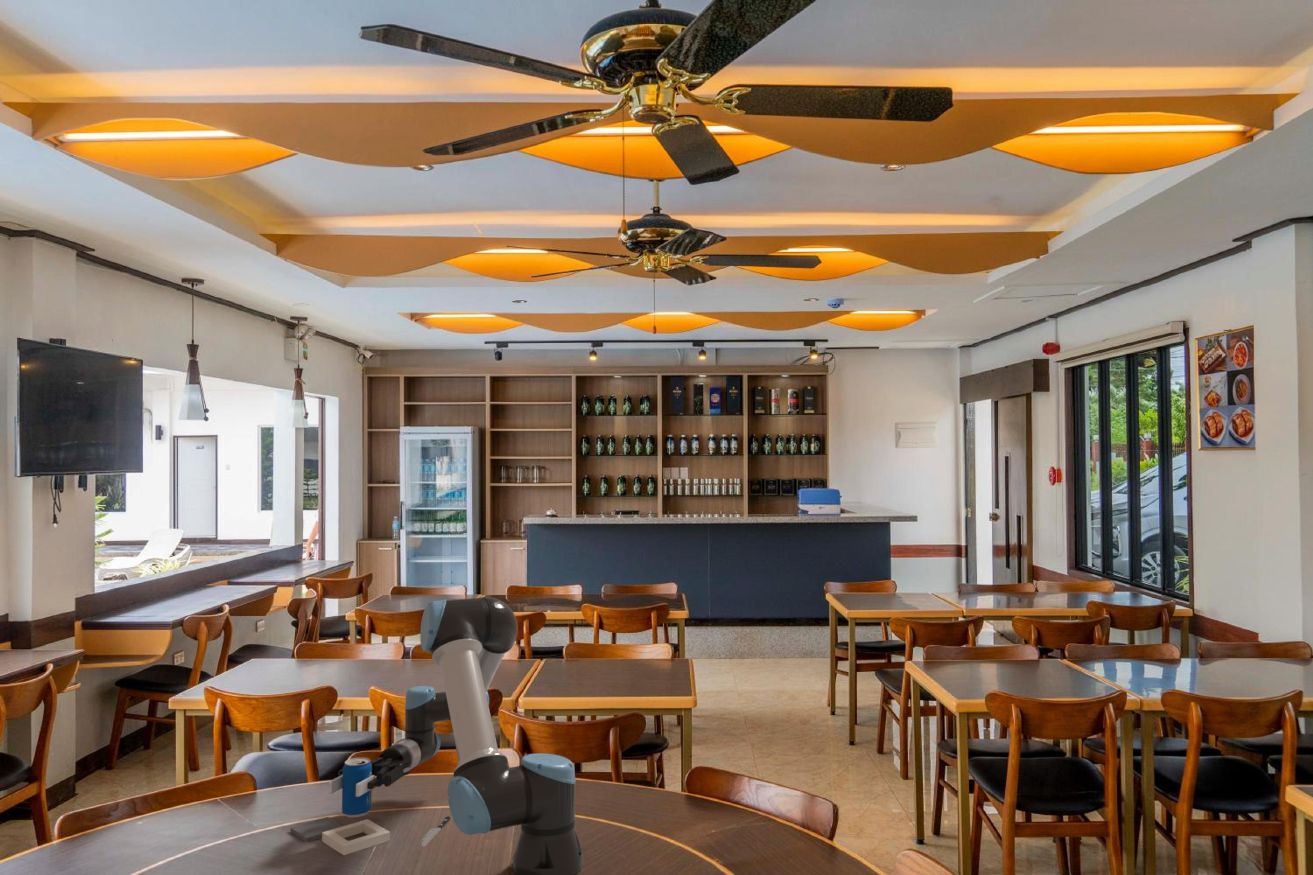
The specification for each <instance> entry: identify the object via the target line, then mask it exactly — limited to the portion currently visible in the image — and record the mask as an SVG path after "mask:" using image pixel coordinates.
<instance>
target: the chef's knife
mask: <svg viewBox="0 0 1313 875" xmlns="http://www.w3.org/2000/svg"><path fill="white" fill-rule="evenodd" d="M450 819H451V816H450V815H449V816H445V818H444V820H443V821H442V822H441V823H440V824H439V825H437V827H433V828H429V829H430V830H429V829H428V831H427V832H426V833H427V834H426V833H425V834H424V836H426V837H424V836H423V837H424V838H422V839H421V841H420V843H422V845H421V847H426V846H427V845H428V844H430V842H431V841H432V840H433V838H434V837H435V836H436V835H437V834H438V833H439V832H440V831H441V830H442V829H443V828H444V827H445V826H446V825H447V823H448V822H449V821H450ZM442 827H443V828H442ZM422 840H423V842H422ZM430 840H431V841H430ZM427 843H428V844H427Z"/></svg>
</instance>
